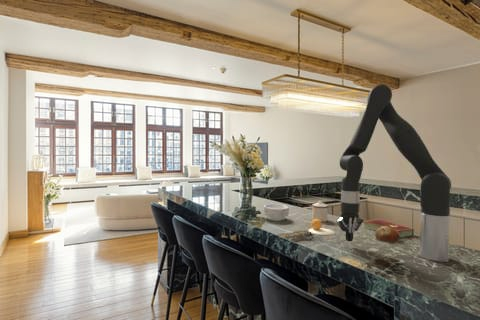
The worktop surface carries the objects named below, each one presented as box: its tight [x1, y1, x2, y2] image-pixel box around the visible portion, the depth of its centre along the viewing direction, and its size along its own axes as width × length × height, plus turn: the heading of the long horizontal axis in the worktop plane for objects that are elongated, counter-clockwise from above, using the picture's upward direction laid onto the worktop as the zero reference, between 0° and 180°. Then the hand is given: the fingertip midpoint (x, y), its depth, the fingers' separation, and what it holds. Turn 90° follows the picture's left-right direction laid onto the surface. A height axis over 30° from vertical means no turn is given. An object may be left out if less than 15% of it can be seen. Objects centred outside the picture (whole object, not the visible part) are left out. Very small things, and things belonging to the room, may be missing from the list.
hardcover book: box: [362, 219, 415, 238], centre depth 148 cm, size 12×21×4 cm, turn 24°
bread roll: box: [375, 226, 401, 243], centre depth 134 cm, size 10×10×8 cm
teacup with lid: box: [311, 200, 329, 223], centre depth 171 cm, size 12×9×12 cm
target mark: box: [308, 227, 336, 236], centre depth 145 cm, size 13×13×1 cm
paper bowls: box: [263, 203, 290, 222], centre depth 171 cm, size 15×15×8 cm
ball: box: [310, 219, 323, 230], centre depth 149 cm, size 6×6×6 cm
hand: (349, 240), depth 122 cm, fingers closed
